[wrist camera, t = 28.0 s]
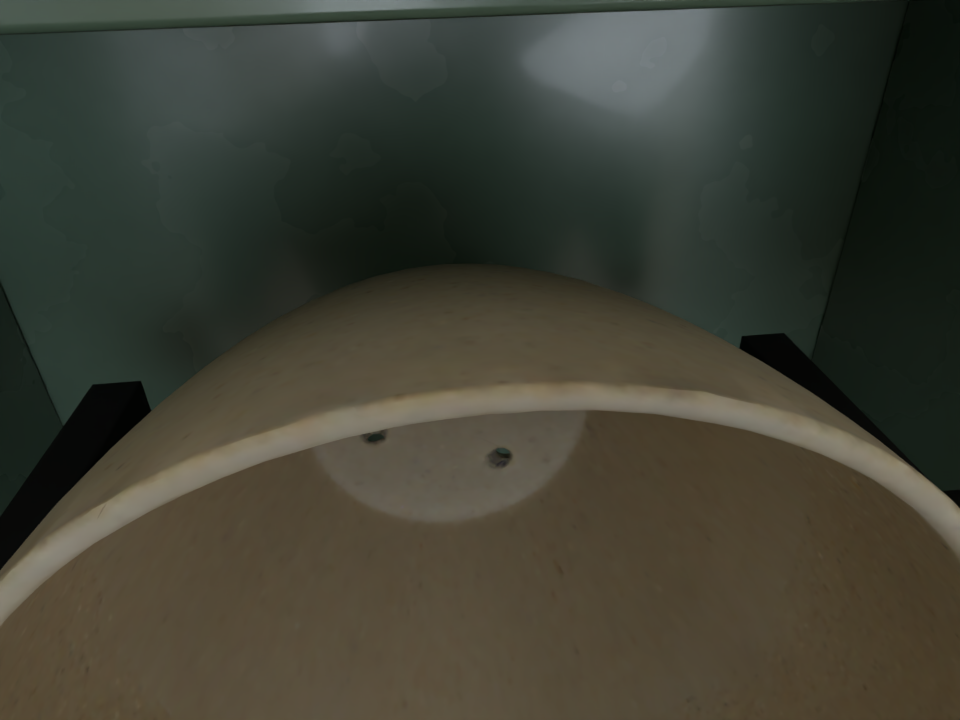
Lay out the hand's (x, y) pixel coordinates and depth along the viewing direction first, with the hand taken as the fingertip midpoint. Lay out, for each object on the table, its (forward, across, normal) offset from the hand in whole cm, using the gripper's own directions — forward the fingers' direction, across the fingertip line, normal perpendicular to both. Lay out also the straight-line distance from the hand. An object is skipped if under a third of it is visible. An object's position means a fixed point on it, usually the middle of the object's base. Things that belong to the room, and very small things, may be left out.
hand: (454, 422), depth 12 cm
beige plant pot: (+1, 0, 0) cm, 1 cm away
